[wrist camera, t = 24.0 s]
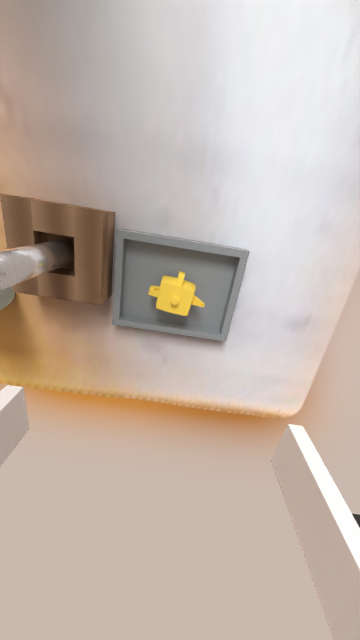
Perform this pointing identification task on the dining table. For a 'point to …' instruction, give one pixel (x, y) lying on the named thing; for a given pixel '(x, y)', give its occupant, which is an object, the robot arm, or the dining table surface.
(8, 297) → the cup
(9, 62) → the dining table surface
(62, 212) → the wooden square hole block
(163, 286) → the teapot
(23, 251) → the pin
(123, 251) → the tray
